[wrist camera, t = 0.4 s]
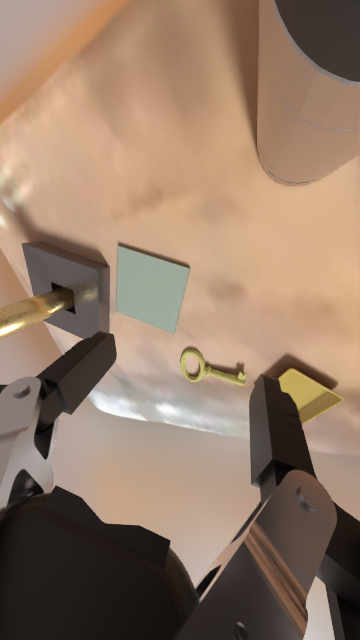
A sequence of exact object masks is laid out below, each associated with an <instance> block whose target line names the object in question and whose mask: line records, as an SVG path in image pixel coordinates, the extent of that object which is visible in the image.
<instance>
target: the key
mask: <svg viewBox="0 0 360 640" xmlns="http://www.w3.org/2000/svg"><path fill="white" fill-rule="evenodd" d="M189 354H192V355H194V356H196V357H197V358H198V360H199V363H200V373H199V375H198V376H196V377H193V376H191V375H189V374H188V372H187V370H186V365H185V363H186V358H187V356H188V355H189ZM181 370H182V373H183V375H184V376H185V377H186V379H188V380H189V381H192V382H197V381H199V380H200V379H201V378H202V376H203V374H204V373H206V375H207V376H209V375H212V376H215V377H218V378H221V379H224V380H227V381H230V382H232V383H235V384H238V385H241V386H244V384H245V377H246V373H244V374H243V373H242V372H241V371H239V376H238V377H236V376H233V375H230V374H227V373H224V372H221V371H218V370H215V369H212V367H211V366H208V367H206V366H205V360H204V358H203V356H202V354H201V353H200V352H198V351H197V350H193V349H189V350H186V351H185V352H184V353H183V354H182V357H181Z"/></svg>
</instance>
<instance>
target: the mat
mask: <svg viewBox="0 0 360 640" xmlns="http://www.w3.org/2000/svg"><path fill="white" fill-rule="evenodd" d="M189 271H190V268H189V267H186V266H183V265H179V264H176V263H173V262H170V261H167V260H164V259H161V258H157V257H154V256H151V255H148V254H145V253H142V252H139V251H135V250H132V249H129V248H126V247H123V246H118V267H117V301H116V311H117V312H119V313H122V314H124V315H127V316H129V317H132V318H134V319H137V320H139V321H142V322H144V323H147V324H149V325H152V326H154V327H157V328H159V329H162V330H164V331H167V332H169V333H172V334H174V333H175V329H176V325H177V321H178V317H179V313H180V309H181V305H182V300H183V296H184V292H185V288H186V284H187V280H188V276H189Z"/></svg>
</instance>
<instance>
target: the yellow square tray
mask: <svg viewBox="0 0 360 640" xmlns="http://www.w3.org/2000/svg"><path fill="white" fill-rule="evenodd" d="M278 379H279V381H280V386H281V391H282V392H286V393H289V394H290V396H291V397H292V399H293V400H294V402H295V403H296V405H297V409H298V412H299V416H300V417H299V419H300V420H301V424H305V423H307V422H308V421H310V420H312V419H314V418H315V417H317V416H319V415H320V414H322V413H323V412H325V411H327V410H329V409H330V408H332V407H334V406H335V405H337V404H339V403H341V402H342V401H344V398H343V397H342V396H340V395H339V394H337V393H335V392H333V391H332V390H330V389H328V388H327V387H325V386H323V385H321V384H320V383H318V382H316V381H315V380H313V379H311V378H309V377H308V376H306V375H304V374H302V373H301V372H299V371H297V370H296V369H294V368H289V369H288V370H287V371H285V372H284V373H283V374H282V375H281V376H280V377H278Z"/></svg>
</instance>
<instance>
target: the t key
mask: <svg viewBox="0 0 360 640" xmlns="http://www.w3.org/2000/svg"><path fill="white" fill-rule="evenodd" d="M73 306H75V302H74V293H73V290H71V289H68V288H66V287H61V288H58V289H55V290H52V291H49V292H46V293H43V294H40V295H37V296H34V297H31V298H28V299H26V300H23V301H19V302H17V303H14V304H11V305H8V306H5V307H2V308H0V340H1V339H3V338H5V337H7V336H10V335H12V334H14V333H16V332H18V331H20V330H22V329H25V328H27V327H29V326H31V325H33V324H36V323H38V322H40V321H42V320H44V319H46V318H49V317H51V316H53V315H55V314H57V313H60V312H62V311H64V310H66V309H68V308H70V307H73Z"/></svg>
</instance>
